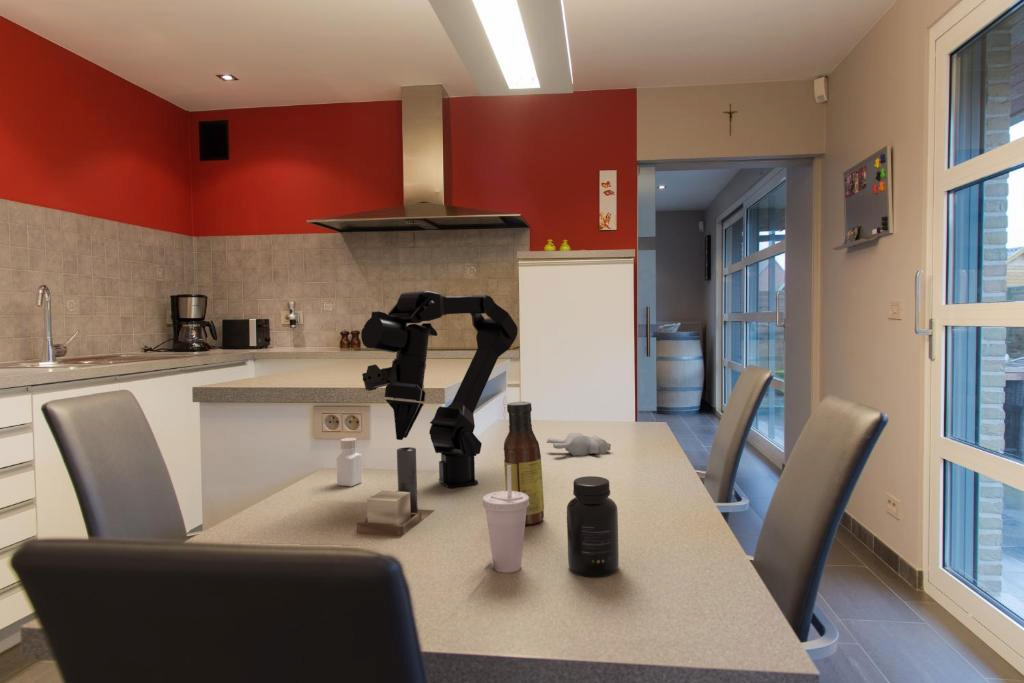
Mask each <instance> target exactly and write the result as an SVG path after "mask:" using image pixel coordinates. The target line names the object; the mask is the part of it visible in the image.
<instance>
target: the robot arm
mask: <svg viewBox="0 0 1024 683" xmlns="http://www.w3.org/2000/svg"><path fill="white" fill-rule="evenodd" d="M458 314H459V315H460V314H470V315H471V324H472V326H473V327H474V330H476V332H477V333H476V336H475V340H476V345H477V349H476V351H475V353H474V356H473V357H472V359H471V362H470V364H469V365H468V368H467V371H466V372H465V374H464V377H463V379H462V381H461V383H460V385H459V387H458V389H457V391H456V393H455V396H454V398H453V400H452V402H451V403H450V404H449V405H448V406H439V407H438V408H436V412H435V414H434V417H433V418H432V420H431V421H430V422H429V423H430V424H431V426H430V428H429V433H428V434H429V436H430V440H431V443H432V447H433V449H434V452H435V453H436V454H440V460H439V461H438V475H439V478H438V482H440V483H441V484H442V485H444V486H446V487H447V488H451V489H452V488H457V487H463V486H470V485H476V484H479V480H477V479H476V474H475V473H476V471H475V470H476V469H475V468H476V466H475V457H476V456H477V455H479V454H481V451H482V442H481V441H480V439H478V437H477V436H476V435H475V433H474V432H475V431H474V430H475V428H476V425H475V417H474V412H475V410H476V407H477V406H478V403H479V401H480V399H481V396H482V395H483V392H484V390H485V388H486V385H487V383H488V382H489V379H490V376H491V375H492V372H493V370H494V368H495V365H496V364H497V361H498V359H499V358H500V357H501V356H502V355H503V354H505V353H506V352H508V351H509V349H511V347H512V345H513V344H514V342H515V340H516V339H517V336H518V332H519V330H518V326H517V324H516V322H515V321H514V319H513V317H511V314H509V312H508V311H506V310H505V309H504V308H502V307H501V306H499V305H498V304H497V303H496V302H495V301H494V299H493V298H492V296H490V295H487V294H476V295H475V294H474V295H467V296H466V295H463V296H462V295H461V296H460V295H459V296H452V295H451V296H445V295H443V294H441V293H439V292H434V291H430V290H422V291H421V290H420V291H408V292H407V291H405V292H402V293H401V294H400V296H399V297H398V299H397V302H396V303H395V305H394V306H393V307H392V308H391V310H390V311H389V312H388V313H385V312H383V311H371V317H370V318H369V319H368V320H367V321H366V322H365V324H364V326H363V328H362V329H361V334H360V336H361V338H360V339H361V342H362V344H363V346H364V347H365V348H366V349H372V350H377V351H382V352H387V353H396V354H395V358H394V359H393V360H392V362H391V366H390V367H383V368H380V366H378V365H377V364H372V365H368V366H367V370H366V372H363V373H361V376H362V381H363V384H364V388H365V391H368V392H370V391H375V390H377V389H379V388H383V387H385V388H384V389H385V390H384V397H385V398H387V399H385V401H386V403H388V405H389V407H391V408H392V410H393V417H394V419H393V420H394V428H395V439H396V440H398V441H403V440H404V439H406V438H408V435H409V434H410V432H411V430H412V429H413V426H414V425H415V424H414V423H415V422H416V420H417V418H418V416H419V415H420V412H421V411H422V408H423V407H424V402H425V403H426V395H427V392H426V391H425V389H424V387H425V383H424V382H425V373H426V369H427V354H428V346H429V337H436V336H438V332H437V330H436V329H435V328H434V327H433V325H432V323H429V322H431V321H434V320H438V319H441V318H442V317H444V316H446V315H458ZM483 314H485V315H486V316H487V318H485V317H484V316H483ZM423 322H426V323H423ZM427 322H428V323H427ZM421 323H422V324H421ZM388 398H392V399H388ZM422 402H423V403H422Z"/></svg>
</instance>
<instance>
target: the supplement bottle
mask: <svg viewBox="0 0 1024 683" xmlns="http://www.w3.org/2000/svg"><path fill="white" fill-rule="evenodd" d="M572 483H573V484H572V485H573V492H572V494H573V498H572V499H571V500H569V502H568V503H567V506H566V533H567V534H566V535H567V536H566V537H567V563H568V564H567V565H568V567H569V569H570V570H571V572H573V573H574V574H576V575H579V576H581V577H586V578H603V577H608V576H611V575H613V574H615V572H616V571H618V568H619V564H620V563H619V554H620V553H619V552H620V551H619V512H618V506H617V504H616V502H615V501H614V500H613V499H611V498H610V497H609V496H610V495H611V489H610V480H609V479H608V478H605V477H601V476H597V475H596V476H593V475H590V476H589V475H588V476H580V477H576V478H575V479H574V480H573V482H572ZM574 496H575V497H574Z"/></svg>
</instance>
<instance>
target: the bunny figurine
mask: <svg viewBox="0 0 1024 683" xmlns="http://www.w3.org/2000/svg"><path fill="white" fill-rule="evenodd" d="M546 443H547V444H552V445H553V448H554V449H557V450H559V449H560V450H562V449H565V451H566V452H568V454H571V455H572V456H573V457H577V456H580V457H581V456H582V457H583V456H587V455H592V454H596V455H597V456H598V455H599V456H600V455H604V454H606V453H607V452H608V451H611V447H612V444H611V443H609V442H607V441H606V440H605V439H603V438H601V437H599V436H597V435H593V436H589V435H584V434H582V433H579V432H569V433H568V434H567V436H566V437H565V438H564V439H559V438H552V437H548V438H547V440H546Z"/></svg>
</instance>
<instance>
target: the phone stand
mask: <svg viewBox="0 0 1024 683" xmlns="http://www.w3.org/2000/svg"><path fill="white" fill-rule="evenodd" d="M396 463H397V464H396V468H397V491H398V492H410V509H411V519H409V520H408V521H407V522H405V523H404V524H403V525H394V524H381V523H368V517H367V518H366V519H364V520H362V521H358V522H356V534H365V535H373V536H374V535H375V536H376V535H378V536H388V537H389V536H390V537H399V538H401V537H403V536H405V535H406V533H408V532H410V531H411V530H412V529H413V528H415V527H416V526H418V525H419V524H420V523H421V522H423V520H424V519H427V517H428V516H430V515H431V514H432V513H434V512H435V509H434V510H433V509H419V508H418V481H417V480H418V478H417V477H418V476H417V475H418V474H417V472H418V471H417V449H416V447H409V446H408V447H407V446H406V447H399V448H397V449H396Z"/></svg>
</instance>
